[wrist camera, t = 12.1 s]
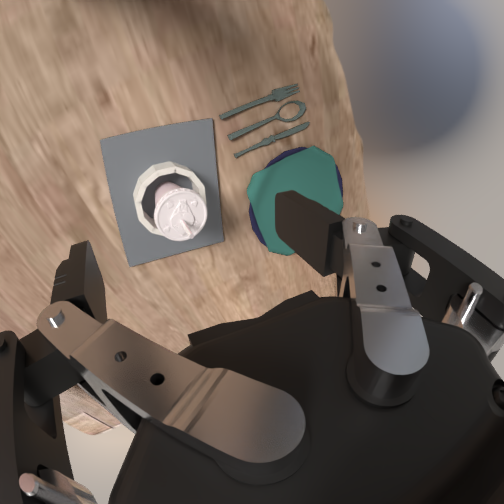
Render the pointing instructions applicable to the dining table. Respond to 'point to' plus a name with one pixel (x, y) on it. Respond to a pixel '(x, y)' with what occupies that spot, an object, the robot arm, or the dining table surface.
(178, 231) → the smoothie
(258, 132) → the dining table surface
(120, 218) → the sleeve stand
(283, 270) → the dining table surface
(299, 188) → the cutlery set
